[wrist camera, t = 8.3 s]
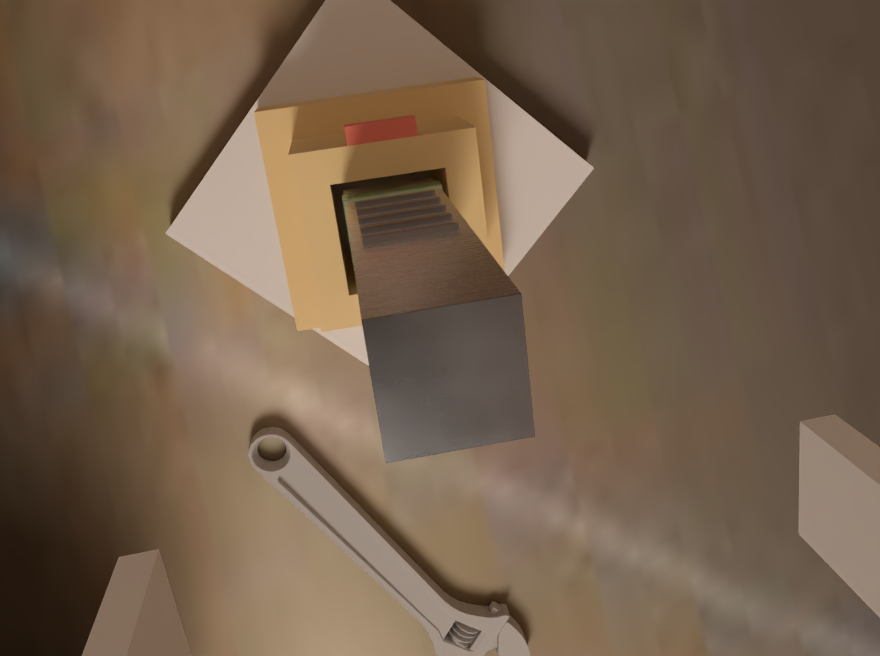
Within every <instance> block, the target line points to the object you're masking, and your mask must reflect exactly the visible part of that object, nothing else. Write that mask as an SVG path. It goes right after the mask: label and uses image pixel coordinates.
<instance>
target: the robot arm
mask: <svg viewBox="0 0 880 656" xmlns="http://www.w3.org/2000/svg"><path fill="white" fill-rule="evenodd" d="M799 535H800V536H801V537H802V538H803V539H804V540H805V541H806V542H807V543H808V544H809V545H810V546H811V547H812V548H813V549H814V550H815V551H816V552H817V553H818V554H819V555H820V556H821V557H822V558H823V560H824V561H825V562H826V563H827V564H828V565H829V566H830V567H831V568H832V569H833V570H834V571H835V572H836V573H837V574H838V575H839V576H840V577H841V578H842V579H843V580H844V581H845V582H846V583H847V584H848V585H849V586H850V587H851V588H852V590H853V591H854V592H855V593H856V594H857V595H858V596H859V597H860V598H861V599H862V600H863V601H864V602H865V603H866V604H867V605H868V606H869V607H870V608H871V609H872V610H873V611H874V612H875V613H876V614H877V615H878V616H879V617H880V447H879V446H877V445H876V444H874V443H873V442H872V441H870V440H869V439H868V438H866V437H865V436H864V435H862V434H861V433H859V432H858V431H857V430H855V429H854V428H853V427H851V426H850V425H849V424H847V423H846V422H844V421H843V420H842V419H840V418H839V417H838V416H836V415H835V414H834V415H829V416H824V417H819V418H814V419H809V420H804V421H800V457H799ZM82 656H191V652H190V649H189V646H188V643H187V639H186V636H185V633H184V630H183V626H182V623H181V620H180V617H179V613H178V610H177V607H176V603H175V600H174V597H173V594H172V590H171V587H170V584H169V581H168V577H167V574H166V571H165V568H164V564H163V561H162V558H161V555H160V551H159V549H156V550H151V551H146V552H141V553H136V554H131V555H126V556H121V557H119V558H118V560H117V563H116V566H115V568H114V571H113V574H112V576H111V579H110V582H109V584H108V587H107V590H106V592H105V595H104V598H103V600H102V603H101V606H100V608H99V611H98V614H97V616H96V619H95V622H94V624H93V627H92V630H91V632H90V635H89V638H88V640H87V643H86V646H85V648H84V651H83V654H82Z"/></svg>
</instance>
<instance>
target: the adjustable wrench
mask: <svg viewBox="0 0 880 656" xmlns="http://www.w3.org/2000/svg"><path fill="white" fill-rule="evenodd" d="M265 438H277V439H280V440H282V441H283V442H284V443H285V445H286V453H285V455H284V456H283V457H282V458H281V459H280V460H276V461H268V460H265V459H263V458H262V457H260V455H259V453H258V445H259V443H260V441H261V440H262V439H265ZM248 458H249V461H250V463H251V465H252V466H253V467H254V468H255V469H256V470H257V471H258V472H259V473H260V474H261V475H262V476H263V477H264V478H265V479H266V480H268V481H269V482H270V483H271V484H272V485H273V486H274V487H275V488H276V489H277V490H278V491H279V492H280V493H282V494H283V495H284V496H285V497H286V498H287V499H288V500H289V501H290V502H291V503H292V504H293V505H295V506H296V507H297V508H298V509H299V510H300V511H301V512H302V513H303V514H304V515H305V516H306V517H307V518H309V519H310V520H311V521H312V522H313V523H314V524H315V525H316V526H317V527H318V528H319V529H320V530H322V531H323V532H324V533H325V534H326V535H327V536H328V537H329V538H330V539H331V540H332V541H333V542H334V543H336V544H337V545H338V546H339V547H340V548H341V549H342V550H343V551H344V552H345V553H346V554H347V555H349V556H350V557H351V558H352V559H353V560H354V561H355V562H356V563H357V564H358V565H359V566H360V567H362V568H363V569H364V570H365V571H366V572H367V573H368V574H369V575H370V576H371V577H372V578H373V579H374V580H376V581H377V582H378V583H379V584H380V585H381V586H382V587H383V588H384V589H385V590H386V591H387V592H389V593H390V594H391V595H392V596H393V597H394V598H395V599H396V600H397V601H398V602H399V603H400V604H401V605H403V606H404V607H405V608H406V609H407V610H408V611H409V612H410V613H411V614H412V615H413V616H414V617H416V618H417V619H418V620H419V621H420V623H421V624H422V625H423V626H424V627H425V629H426V630H427V632H428V634H429V636H430V638H431V640H432V643H433V645H434V648H435V651H436V653H437V656H484V655H485V654H486V652H487V651H488V650H491V649H493V648H496V650H497V653H498V655H500V656H530V652H529V649H528V645H527V642H526V639H525V636H524V633H523V631H522V629H521V627H520V626H519V624H518V623H517V622H516V621H515V620H514V619H513V618H512V617H511V616H510V615H509V611H508V608H507V605H506V604H498V603H496V602H491V604H490V605H489V606H481V605H475V604H469V603H465V602H462V601H459V600H456V599H455V598H453V597H451V596H449V595H448V594H447V593H446V592H444V591H443V590H442V589H441V588H440V587H439V586H438V585H437V584H436V583H435V582H434V581H433V580H432V579H431V578H430V577H429V576H428V575H427V574H426V573H425V572H424V571H423V570H422V569H421V568H420V567H419V566H418V565H417V564H416V563H415V562H414V561H413V560H412V558H411V557H410V556H409V555H408V554H407V553H406V552H405V551H404V550H403V549H402V548H401V547H400V546H399V545H398V544H397V543H396V542H395V541H394V540H393V539H392V538H391V537H390V536H389V535H388V534H387V533H386V532H385V531H384V530H383V529H382V528H381V527H380V526H379V525H378V524H377V523H376V522H375V521H374V520H373V519H372V518H371V517H370V516H369V515H368V514H367V513H366V512H365V510H364V509H363V508H362V507H361V506H360V505H359V504H358V503H357V502H356V501H355V500H354V499H353V498H352V497H351V496H350V495H349V494H348V493H347V492H346V491H345V490H344V489H343V488H342V487H341V486H340V485H339V484H338V483H337V482H336V481H335V480H334V479H333V478H332V477H331V476H330V475H329V474H328V473H327V472H326V471H325V470H324V469H323V468H322V467H321V466H320V465H319V463H318V462H317V461H316V460H315V459H314V458H313V457H312V456H311V455H310V454H309V453H308V452H307V451H306V450H305V449H304V448H303V447H302V446H301V445H300V444H299V443H298V442H297V441H296V440H295V439H294V438H293V437H292V436H291V435H290V434H289V433H288V432H286V431H285V430H284V429H281V428H278V427H267V428H263V429H261V430H260V431H258V432H256V434H255V435H254V436H253V437H252V439H251V442H250V446H249V452H248Z"/></svg>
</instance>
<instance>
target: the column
mask: <svg viewBox="0 0 880 656" xmlns="http://www.w3.org/2000/svg"><path fill="white" fill-rule="evenodd" d="M343 194H344V195H342V201H343V207H344V213H345V219H346V225H347V230H348V236H349V242H350V248H351V254H352V260H353V266H354V272H355V278H356V286H357V293H358V300H359V307H360V314H361V321H362V327H363V332H364V338H365V344H366V350H367V356H368V362H369V368H370V374H371V380H372V386H373V391H374V397H375V403H376V409H377V415H378V421H379V427H380V433H381V439H382V444H383V450H384V456H385V462H386V463H390V462H396V461H401V460H407V459H412V458H418V457H424V456H429V455H435V454H440V453H446V452H451V451H457V450H463V449H468V448H474V447H479V446H485V445H491V444H496V443H502V442H507V441H513V440H519V439H524V438H530V437H535V429H534V419H533V409H532V398H531V388H530V378H529V367H528V357H527V347H526V336H525V326H524V316H523V305H522V295H521V293H520V291H519V290H518V289H517V287H516V286H515V285H514V284H513V282H512V281H511V280H510V278H509V277H508V276H507V274H506V273H505V272H504V270H503V269H502V268H501V266H500V265H499V264H498V262H497V261H496V260H495V259H494V257H493V256H492V255H491V253H490V252H489V251H488V249H487V248H486V247H485V245H484V244H483V243H482V241H481V240H480V239H479V237H478V236H477V235H476V233H475V232H474V231H473V230H472V228H471V227H470V226H469V224H468V223H467V222H466V220H465V219H464V218H463V216H462V215H461V214H460V212H459V211H458V210H457V208H456V207H455V206H454V205H453V203H452V202H451V201H450V199H449V198H448V197H447V195H446V194H445V193H444V191H443V190H442V184H441V183H440V182H439V181H435V179H434V178H433V177H429V178H422V179H416V180H409V181H402V182H396V183H389V184H383V185H376V186H369V187H363V188H356V189H349V190H343Z"/></svg>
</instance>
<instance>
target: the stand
mask: <svg viewBox="0 0 880 656" xmlns="http://www.w3.org/2000/svg"><path fill="white" fill-rule="evenodd" d="M593 169H594V168H593V167H592V166H591V165H590V164H588V163H587V162H586V161H585V160H584V159H582V158H581V157H580V156H579V155H578V154H576V153H575V152H574V151H573V150H571V149H570V148H569V147H568V146H567V145H565V144H564V143H563V142H562V141H561V140H559V139H558V138H557V137H556V136H554V135H553V134H552V133H551V132H550V131H548V130H547V129H546V128H545V127H544V126H542V125H541V124H540V123H539V122H537V121H536V120H535V119H534V118H533V117H531V116H530V115H529V114H528V113H527V112H525V111H524V110H523V109H522V108H520V107H519V106H518V105H517V104H516V103H514V102H513V101H512V100H511V99H510V98H508V97H507V96H506V95H505V94H503V93H502V92H501V91H500V90H499V89H497V88H496V87H495V86H494V85H493V84H491V83H490V82H489V81H488V80H486V79H485V78H484V77H483V76H482V75H480V74H479V73H478V72H477V71H476V70H474V69H473V68H472V67H471V66H469V65H468V64H467V63H466V62H465V61H463V60H462V59H461V58H460V57H459V56H457V55H456V54H455V53H454V52H452V51H451V50H450V49H449V48H448V47H446V46H445V45H444V44H443V43H442V42H440V41H439V40H438V39H437V38H435V37H434V36H433V35H432V34H431V33H429V32H428V31H427V30H426V29H425V28H423V27H422V26H421V25H420V24H418V23H417V22H416V21H415V20H414V19H412V18H411V17H410V16H409V15H408V14H406V13H405V12H404V11H403V10H401V9H400V8H399V7H398V6H397V5H395V4H394V3H393V2H392V1H391V0H325V2H324V3H323V4H322V6H321V7H320V9H319V10H318V12H317V13H316V15H315V16H314V18H313V19H312V21H311V22H310V23H309V25H308V26H307V28H306V29H305V31H304V32H303V34H302V35H301V37H300V38H299V39H298V41H297V42H296V44H295V45H294V47H293V48H292V50H291V51H290V53H289V54H288V55H287V57H286V58H285V60H284V61H283V63H282V64H281V66H280V67H279V69H278V70H277V72H276V73H275V74H274V76H273V77H272V79H271V80H270V82H269V83H268V85H267V86H266V88H265V89H264V90H263V92H262V93H261V95H260V96H259V98H258V99H257V101H256V102H255V104H254V105H253V106H252V108H251V109H250V111H249V112H248V114H247V115H246V117H245V118H244V120H243V121H242V123H241V124H240V125H239V127H238V128H237V130H236V131H235V133H234V134H233V136H232V137H231V139H230V140H229V141H228V143H227V144H226V146H225V147H224V149H223V150H222V152H221V153H220V155H219V156H218V157H217V159H216V160H215V162H214V163H213V165H212V166H211V168H210V169H209V171H208V172H207V174H206V175H205V176H204V178H203V179H202V181H201V182H200V184H199V185H198V187H197V188H196V190H195V191H194V192H193V194H192V195H191V197H190V198H189V200H188V201H187V203H186V204H185V206H184V207H183V208H182V210H181V211H180V213H179V214H178V216H177V217H176V219H175V220H174V222H173V223H172V225H171V226H170V227H169V229H168V230H167V232H166V233H165V234H167V235H168V236H170V237H171V238H173V239H174V240H176V241H178V242H179V243H181V244H182V245H184V246H185V247H187V248H188V249H190V250H191V251H193V252H194V253H196V254H198V255H199V256H201V257H202V258H204V259H205V260H207V261H208V262H210V263H211V264H213V265H214V266H216V267H218V268H219V269H221V270H222V271H224V272H225V273H227V274H228V275H230V276H231V277H233V278H234V279H236V280H237V281H239V282H241V283H242V284H244V285H245V286H247V287H248V288H250V289H251V290H253V291H254V292H256V293H257V294H259V295H261V296H262V297H264V298H265V299H267V300H268V301H270V302H271V303H273V304H274V305H276V306H277V307H279V308H281V309H282V310H284V311H285V312H287V313H288V314H290V315H291V316H293V317H294V318H295V321H296V327H297V331H301V330H308V329H313V330H314V331H316V332H317V333H319V334H320V335H322V336H324V337H325V338H327V339H328V340H330V341H331V342H333V343H334V344H336V345H337V346H339V347H340V348H342V349H344V350H345V351H347V352H348V353H350V354H351V355H353V356H354V357H356V358H357V359H359V360H360V361H362V362H364V363H365V364H367V365H368V366H369V362H368V356H367V350H366V344H365V338H364V332H363V327H362V321H361V314H360V307H359V300H358V293H357V286H356V278H355V272H354V266H353V260H352V254H351V248H350V242H349V236H348V230H347V225H346V219H345V213H344V207H343V201H342V195H344V194H343V190H349V189H356V188H363V187H369V186H376V185H383V184H389V183H396V182H402V181H409V180H416V179H422V178H429V177H433V178H434V179H435V181H439V182H440V183H441V184H442V190H443V191H444V193H445V194H446V195H447V197H448V198H449V199H450V201H451V202H452V203H453V205H454V206H455V207H456V208H457V210H458V211H459V212H460V214H461V215H462V216H463V218H464V219H465V220H466V222H467V223H468V224H469V226H470V227H471V228H472V230H473V231H474V232H475V233H476V235H477V236H478V237H479V239H480V240H481V241H482V243H483V244H484V245H485V247H486V248H487V249H488V251H489V252H490V253H491V255H492V256H493V257H494V259H495V260H496V261H497V262H498V264H499V265H500V266H501V268H502V269H503V270H504V272H505V273H506V274H507V276H509V274H510V273H511V272H512V271H513V269H514V268H515V267H516V266H517V264H518V263H519V262H520V261H521V259H522V258H523V257H524V256H525V254H526V253H527V252H528V251H529V249H530V248H531V247H532V245H533V244H534V243H535V242H536V240H537V239H538V238H539V237H540V235H541V234H542V233H543V232H544V230H545V229H546V228H547V227H548V225H549V224H550V223H551V222H552V220H553V219H554V218H555V216H556V215H557V214H558V213H559V211H560V210H561V209H562V208H563V206H564V205H565V204H566V203H567V201H568V200H569V199H570V198H571V196H572V195H573V194H574V193H575V191H576V190H577V189H578V188H579V186H580V185H581V184H582V182H583V181H584V180H585V179H586V177H587V176H588V175H589V174H590V172H591V171H592V170H593Z"/></svg>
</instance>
